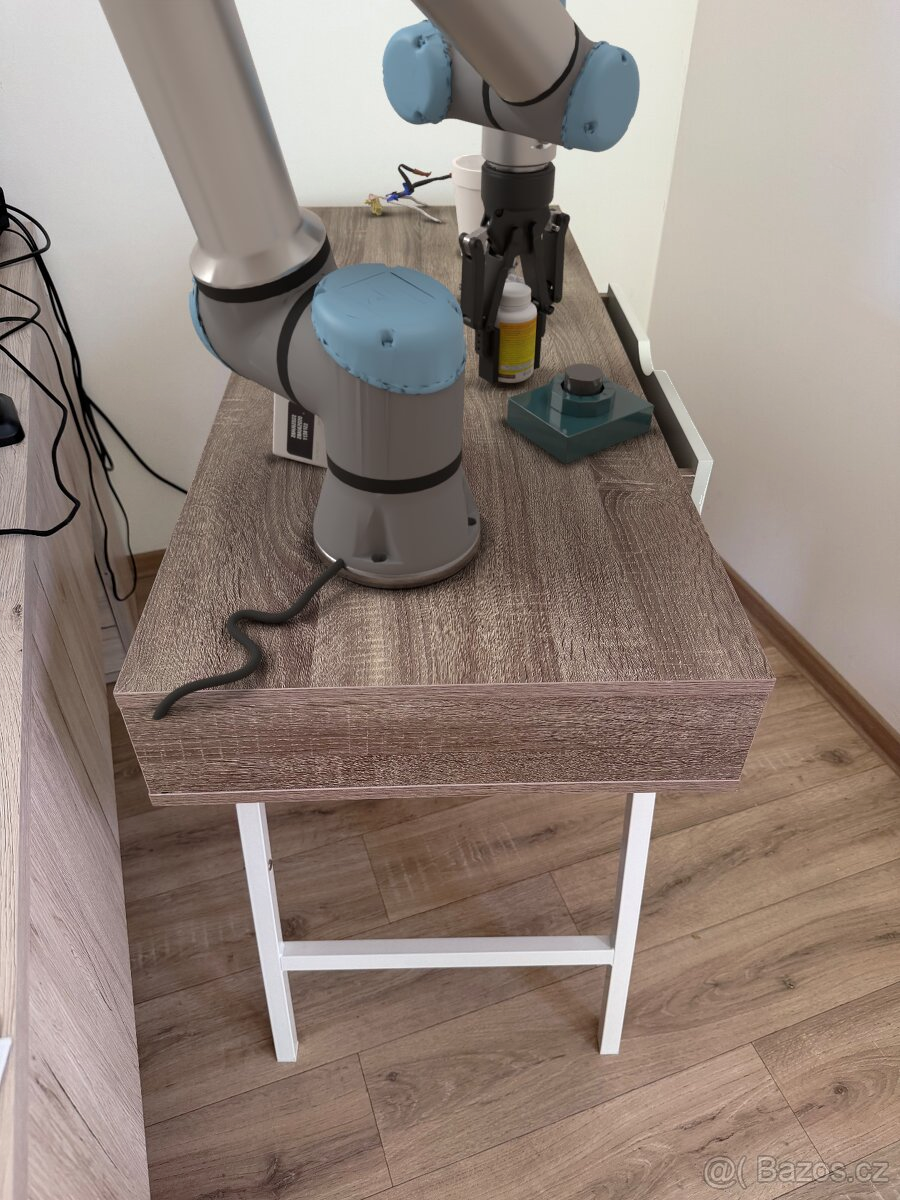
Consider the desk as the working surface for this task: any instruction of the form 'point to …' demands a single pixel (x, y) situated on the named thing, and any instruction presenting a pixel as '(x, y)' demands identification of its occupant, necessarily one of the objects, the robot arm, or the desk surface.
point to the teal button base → (578, 418)
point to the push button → (583, 380)
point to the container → (298, 433)
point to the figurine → (405, 192)
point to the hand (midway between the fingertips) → (509, 371)
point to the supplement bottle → (516, 333)
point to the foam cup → (468, 192)
